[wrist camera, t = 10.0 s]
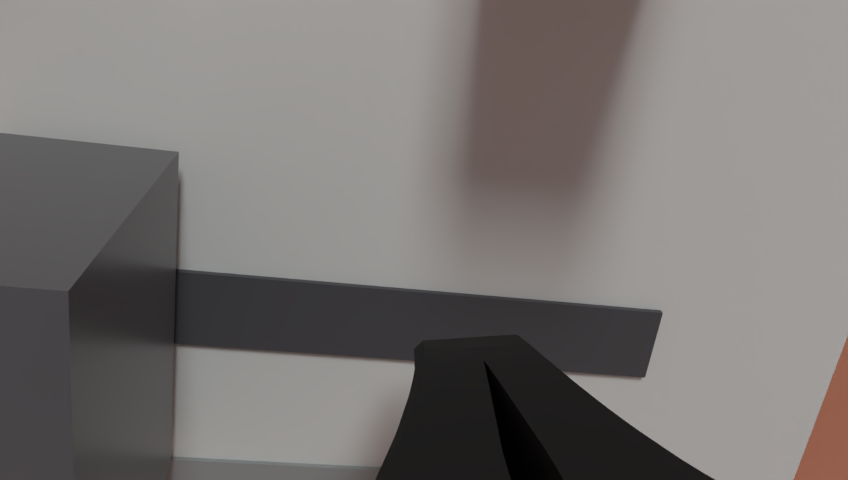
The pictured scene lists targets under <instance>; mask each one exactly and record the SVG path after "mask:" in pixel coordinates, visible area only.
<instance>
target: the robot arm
mask: <svg viewBox="0 0 848 480" xmlns="http://www.w3.org/2000/svg"><path fill="white" fill-rule="evenodd" d="M414 366H415V370H414V376H413V380H412V385H411V389H410V393H409V397H408V400H407V402H406V405H405V408H404V411H403V414H402V417H401V420H400V423H399V426H398V429H397V432H396V434H395V437H394V439H393V441H392V444H391V446H390V448H389V450H388V453H387V455H386V457H385V459H384V461H383V464H382V466H381V468H380V470H379V473H378V475H377V477H376V479H375V480H715V479H713V478H711V477H710V476H708V475H706V474H704V473H703V472H701V471H700V470H698V469H696V468H695V467H693V466H691V465H690V464H688V463H687V462H685V461H683V460H682V459H680V458H679V457H677V456H676V455H674V454H673V453H671V452H670V451H668V450H667V449H665V448H664V447H662V446H661V445H659V444H658V443H656V442H655V441H653V440H652V439H650V438H649V437H648V436H646V435H645V434H643V433H642V432H640V431H639V430H637V429H636V428H634V427H633V426H632V425H630V424H629V423H627V422H626V421H625V420H623V419H622V418H621V417H619V416H618V415H616V414H615V413H614V412H612V411H611V410H610V409H609V408H607V407H606V406H605V405H603V404H602V403H601V402H599V401H598V400H597V399H595V398H594V397H593V396H592V395H590V394H589V393H588V392H587V391H585V390H584V389H583V388H582V387H580V386H579V385H578V384H577V383H575V382H574V381H573V380H572V379H570V378H569V377H568V376H567V375H566V374H564V373H563V372H562V371H561V370H560V369H558V368H557V367H556V366H555V365H554V364H552V363H551V362H550V361H549V360H548V359H546V358H545V357H544V356H543V355H542V354H541V353H539V352H538V351H537V350H536V349H535V348H533V347H532V346H531V345H530V344H529V343H527V342H526V341H525V340H524V339H522V338H521V337H520V336H519V335H517V334H513V335H498V336H482V337H467V338H452V339H436V340H423V341H422V342H421V343H420V344H419V345H418V346H417V347H416V348H414Z"/></svg>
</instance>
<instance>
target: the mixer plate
mask: <svg viewBox="0 0 848 480" xmlns="http://www.w3.org/2000/svg"><path fill="white" fill-rule="evenodd" d="M0 133H7V134H16V135H26V136H35V137H44V138H54V139H63V140H73V141H82V142H91V143H101V144H110V145H119V146H129V147H138V148H148V149H157V150H166V151H176V152H179V165H178V204H177V243H176V282H175V321H174V360H173V399H172V438H171V461H170V464H169V467H168V470H167V473H166V476H165V479H164V480H375V479H376V477H377V475H378V473H379V470H380V468H381V466H382V464H383V461H384V459H385V457H386V455H387V453H388V450H389V448H390V446H391V444H392V441H393V439H394V437H395V434H396V432H397V429H398V426H399V423H400V420H401V417H402V414H403V411H404V408H405V405H406V402H407V400H408V397H409V393H410V389H411V385H412V380H413V376H414V370H415V366H414V348H416V347H417V346H418V345H419V344H420V343H421V342H422V341H423V340H436V339H452V338H467V337H482V336H498V335H513V334H517V335H519V336H520V337H521V338H522V339H524V340H525V341H526V342H527V343H529V344H530V345H531V346H532V347H533V348H535V349H536V350H537V351H538V352H539V353H541V354H542V355H543V356H544V357H545V358H546V359H548V360H549V361H550V362H551V363H552V364H554V365H555V366H556V367H557V368H558V369H560V370H561V371H562V372H563V373H564V374H566V375H567V376H568V377H569V378H570V379H572V380H573V381H574V382H575V383H577V384H578V385H579V386H580V387H582V388H583V389H584V390H585V391H587V392H588V393H589V394H590V395H592V396H593V397H594V398H595V399H597V400H598V401H599V402H601V403H602V404H603V405H605V406H606V407H607V408H609V409H610V410H611V411H612V412H614V413H615V414H616V415H618V416H619V417H621V418H622V419H623V420H625V421H626V422H627V423H629V424H630V425H632V426H633V427H634V428H636V429H637V430H639V431H640V432H642V433H643V434H645V435H646V436H648V437H649V438H650V439H652V440H653V441H655V442H656V443H658V444H659V445H661V446H662V447H664V448H665V449H667V450H668V451H670V452H671V453H673V454H674V455H676V456H677V457H679V458H680V459H682V460H683V461H685V462H687V463H688V464H690V465H691V466H693V467H695V468H696V469H698V470H700V471H701V472H703V473H704V474H706V475H708V476H710V477H711V478H713V479H715V480H794V477H795V474H796V472H797V469H798V466H799V464H800V461H801V458H802V456H803V453H804V450H805V448H806V445H807V442H808V440H809V437H810V434H811V432H812V429H813V426H814V424H815V421H816V418H817V416H818V413H819V410H820V408H821V405H822V402H823V400H824V397H825V394H826V392H827V389H828V387H829V384H830V381H831V379H832V376H833V373H834V371H835V368H836V365H837V363H838V360H839V357H840V355H841V352H842V349H843V347H844V344H845V341H846V339H847V336H848V0H0Z"/></svg>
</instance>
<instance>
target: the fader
mask: <svg viewBox="0 0 848 480" xmlns="http://www.w3.org/2000/svg"><path fill="white" fill-rule="evenodd" d="M178 165H179V152H176V151H166V150H157V149H148V148H138V147H129V146H119V145H110V144H101V143H91V142H82V141H73V140H63V139H54V138H44V137H35V136H26V135H16V134H7V133H0V480H164V479H165V476H166V473H167V470H168V467H169V464H170V461H171V438H172V399H173V360H174V321H175V282H176V243H177V204H178Z"/></svg>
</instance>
